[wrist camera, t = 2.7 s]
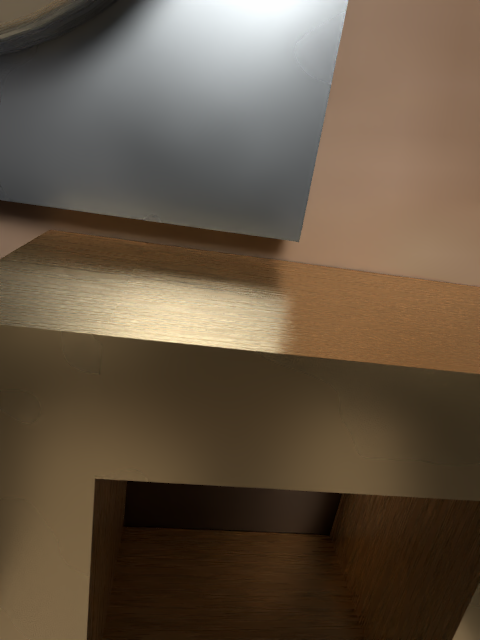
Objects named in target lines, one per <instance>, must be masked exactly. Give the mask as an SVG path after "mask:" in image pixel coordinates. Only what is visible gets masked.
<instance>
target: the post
mask: <svg viewBox="0 0 480 640" xmlns="http://www.w3.org/2000/svg"><path fill="white" fill-rule="evenodd" d="M347 4H348V0H0V200H4V201H11V202H18V203H25V204H32V205H39V206H47V207H54V208H61V209H68V210H75V211H82V212H89V213H96V214H104V215H111V216H118V217H125V218H132V219H139V220H146V221H153V222H161V223H168V224H175V225H182V226H189V227H196V228H203V229H210V230H218V231H225V232H232V233H239V234H246V235H253V236H260V237H267V238H275V239H282V240H289V241H296V242H299V240H300V235H301V230H302V225H303V220H304V215H305V210H306V206H307V201H308V196H309V191H310V186H311V181H312V176H313V171H314V166H315V161H316V156H317V152H318V147H319V142H320V137H321V132H322V127H323V122H324V117H325V112H326V107H327V102H328V98H329V93H330V88H331V83H332V78H333V73H334V68H335V63H336V58H337V53H338V48H339V44H340V39H341V34H342V29H343V24H344V19H345V14H346V9H347Z"/></svg>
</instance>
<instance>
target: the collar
mask: <svg viewBox="0 0 480 640" xmlns="http://www.w3.org/2000/svg"><path fill="white" fill-rule="evenodd" d="M127 481H144V482H161V483H178V484H196V485H213V486H230V487H247V488H264V489H281V490H298V491H316V492H333V493H342V496H341V499H340V502H339V506H338V509H337V513H336V516H335V519H334V523H333V526H332V529H331V533H330V535H309V534H286V533H263V532H240V531H218V530H195V529H172V528H149V527H126V526H123V523H124V511H125V499H126V487H127ZM0 640H480V287H475V286H468V285H460V284H453V283H445V282H438V281H430V280H423V279H415V278H408V277H400V276H393V275H385V274H378V273H370V272H363V271H355V270H348V269H340V268H333V267H325V266H318V265H310V264H303V263H295V262H288V261H281V260H273V259H266V258H258V257H251V256H243V255H236V254H228V253H221V252H213V251H206V250H198V249H191V248H183V247H176V246H168V245H161V244H153V243H146V242H138V241H131V240H123V239H116V238H108V237H101V236H93V235H86V234H78V233H71V232H64V231H56V230H48V231H47V232H45V233H43V234H42V235H40V236H38V237H37V238H35V239H33V240H32V241H30V242H28V243H27V244H25V245H23V246H21V247H20V248H18V249H16V250H15V251H13V252H11V253H10V254H8V255H6V256H5V257H3V258H1V259H0Z"/></svg>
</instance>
